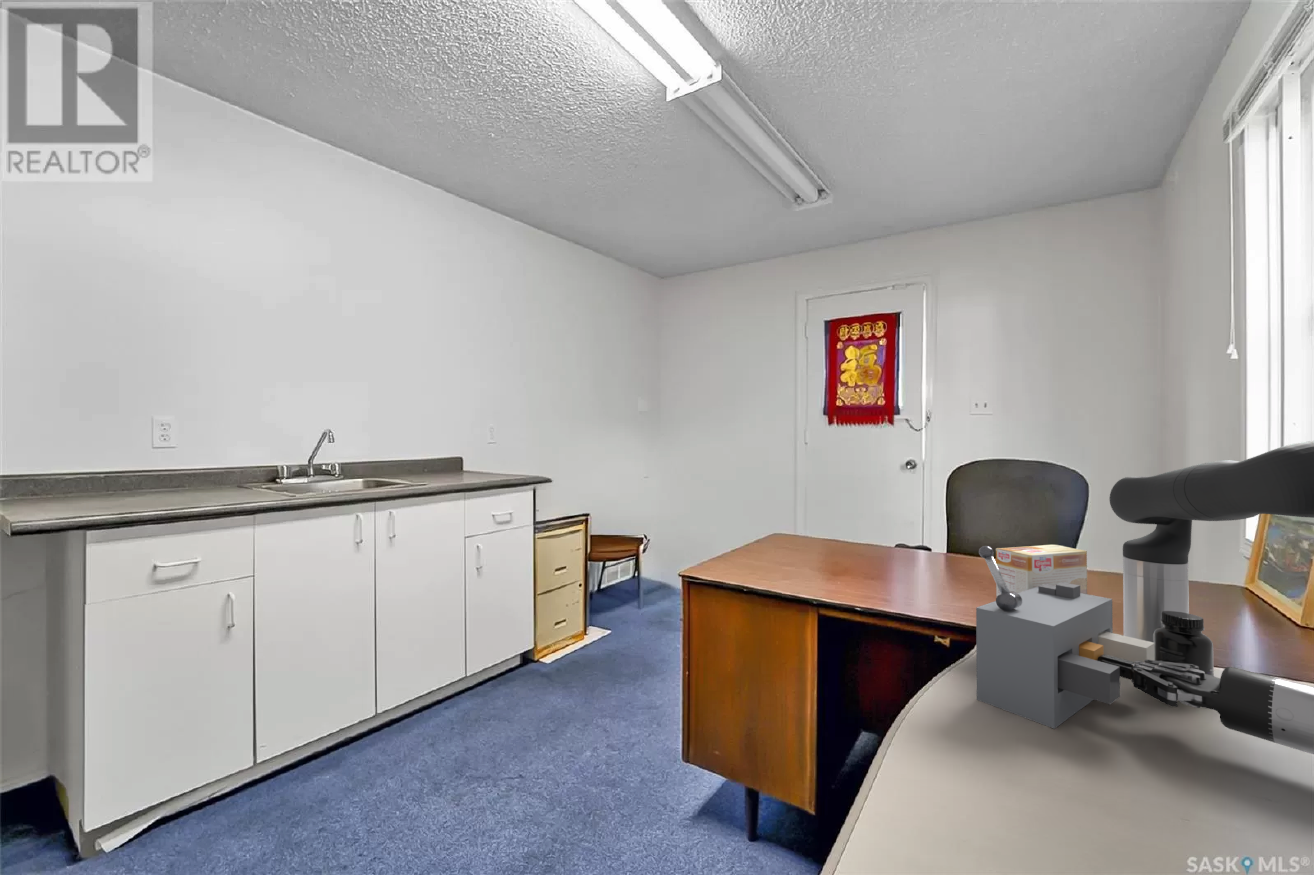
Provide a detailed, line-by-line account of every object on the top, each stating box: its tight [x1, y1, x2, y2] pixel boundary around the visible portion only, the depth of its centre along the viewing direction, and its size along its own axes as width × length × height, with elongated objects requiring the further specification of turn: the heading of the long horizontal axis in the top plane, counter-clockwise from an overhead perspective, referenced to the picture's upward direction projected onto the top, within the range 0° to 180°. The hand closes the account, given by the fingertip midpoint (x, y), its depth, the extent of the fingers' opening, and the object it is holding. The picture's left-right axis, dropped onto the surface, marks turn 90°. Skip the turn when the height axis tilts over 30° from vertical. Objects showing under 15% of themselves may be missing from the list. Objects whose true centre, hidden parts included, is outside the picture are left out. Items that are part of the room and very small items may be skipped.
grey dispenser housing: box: [975, 582, 1114, 729], centre depth 83 cm, size 24×10×16 cm, turn 124°
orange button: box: [1079, 641, 1104, 661], centre depth 81 cm, size 4×8×4 cm, turn 34°
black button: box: [1058, 652, 1121, 705], centre depth 73 cm, size 4×8×4 cm, turn 34°
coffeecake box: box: [995, 544, 1088, 599], centre depth 100 cm, size 15×7×20 cm, turn 106°
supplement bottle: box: [1153, 611, 1215, 677], centre depth 84 cm, size 7×7×12 cm
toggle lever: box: [978, 545, 1022, 611], centre depth 81 cm, size 3×2×10 cm
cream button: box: [1098, 631, 1155, 663], centre depth 82 cm, size 4×8×4 cm, turn 34°
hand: (1099, 661), depth 77 cm, fingers closed
